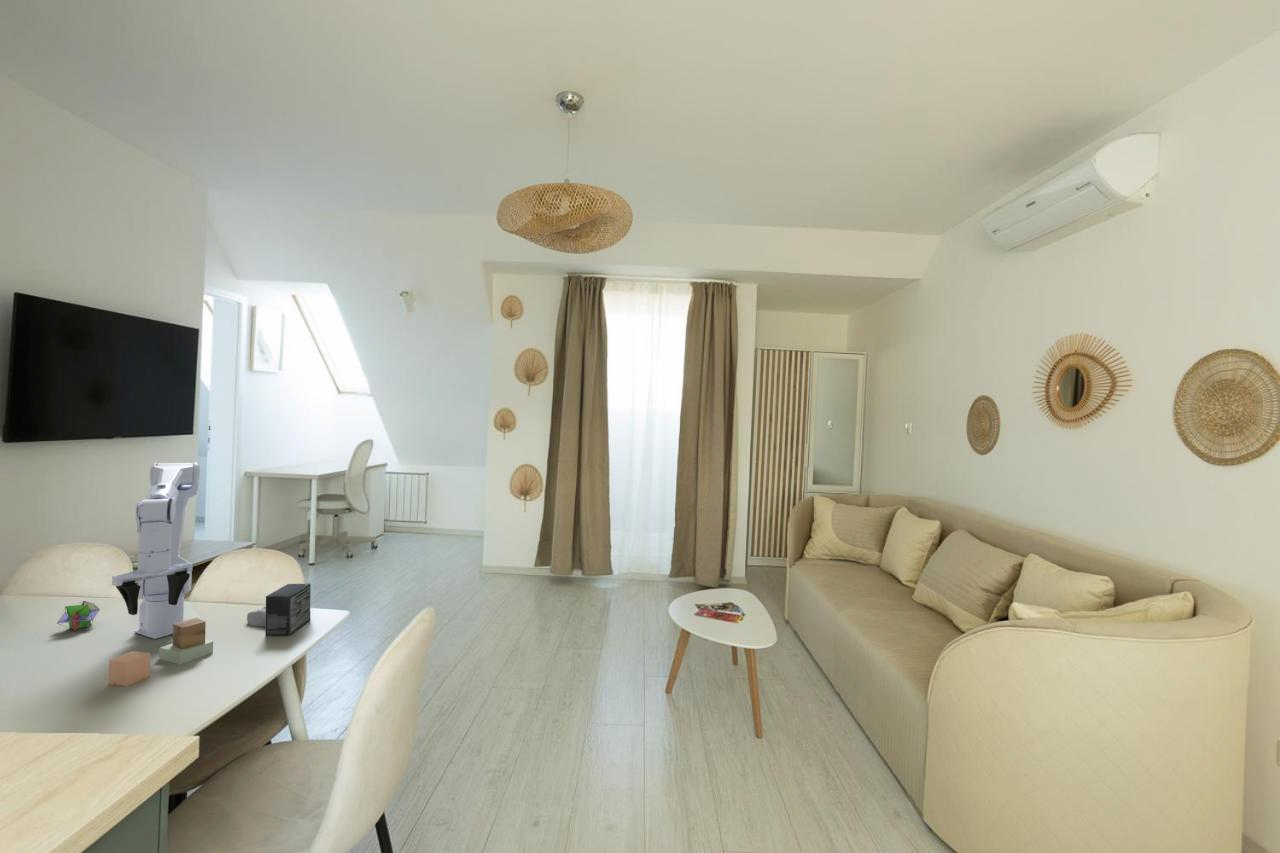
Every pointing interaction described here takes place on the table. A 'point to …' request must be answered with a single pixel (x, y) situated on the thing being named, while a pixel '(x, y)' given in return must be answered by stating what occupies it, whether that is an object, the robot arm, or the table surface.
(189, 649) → the base block
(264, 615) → the stone block
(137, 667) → the terracotta block
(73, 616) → the geometric puzzle
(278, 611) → the small box
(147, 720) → the table surface
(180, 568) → the robot arm
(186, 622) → the walnut block
